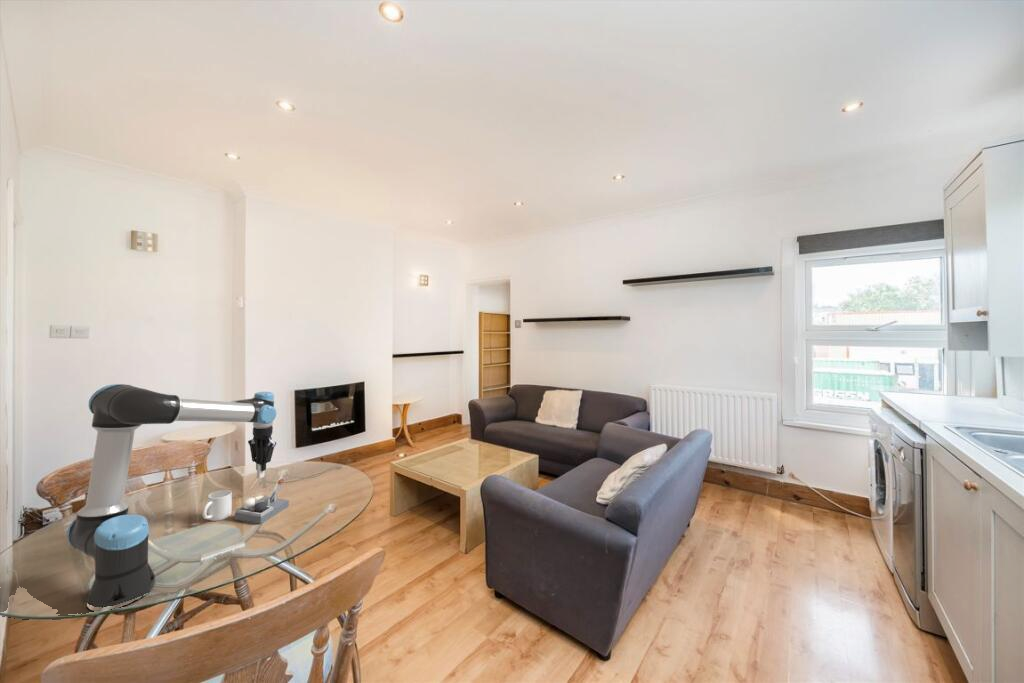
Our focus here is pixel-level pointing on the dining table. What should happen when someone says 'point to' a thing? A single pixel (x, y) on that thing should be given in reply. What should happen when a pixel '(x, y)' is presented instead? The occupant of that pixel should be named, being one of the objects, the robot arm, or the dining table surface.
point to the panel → (259, 518)
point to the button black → (260, 507)
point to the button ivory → (248, 503)
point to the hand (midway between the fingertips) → (260, 477)
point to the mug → (218, 505)
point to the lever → (276, 489)
